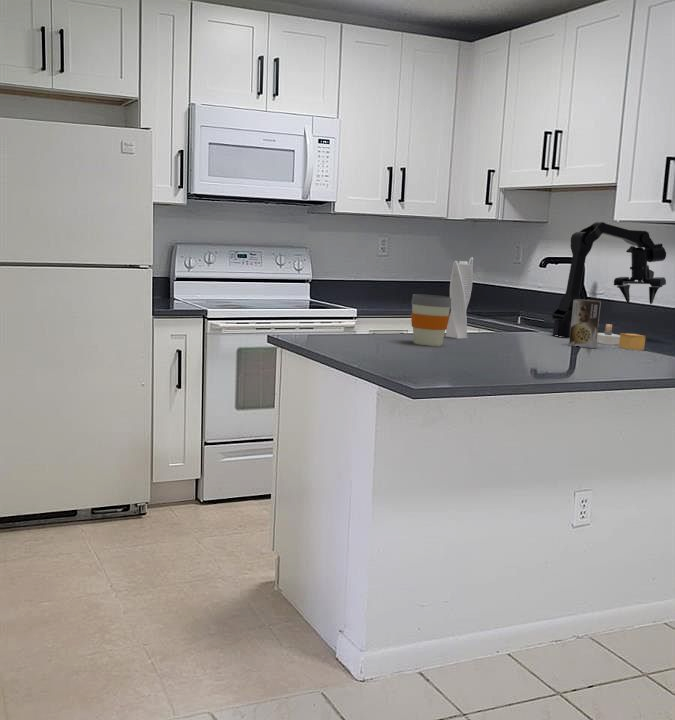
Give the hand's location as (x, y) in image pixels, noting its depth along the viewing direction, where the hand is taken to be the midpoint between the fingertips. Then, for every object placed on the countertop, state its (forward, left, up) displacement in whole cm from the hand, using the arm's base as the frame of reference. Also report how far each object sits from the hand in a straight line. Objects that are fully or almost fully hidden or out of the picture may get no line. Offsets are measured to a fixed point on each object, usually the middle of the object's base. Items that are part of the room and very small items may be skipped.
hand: (639, 303), depth 333 cm
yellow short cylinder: (-24, -28, -14) cm, 40 cm away
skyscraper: (-85, -13, -15) cm, 87 cm away
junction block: (-23, -13, -14) cm, 30 cm away
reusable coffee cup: (-105, -32, -14) cm, 111 cm away
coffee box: (-43, -26, -14) cm, 52 cm away
